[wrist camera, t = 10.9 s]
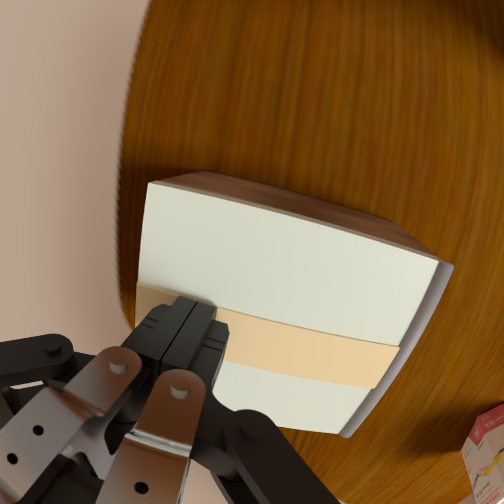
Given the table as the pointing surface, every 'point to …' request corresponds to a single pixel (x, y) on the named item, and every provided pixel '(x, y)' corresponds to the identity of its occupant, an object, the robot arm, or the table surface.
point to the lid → (289, 302)
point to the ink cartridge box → (486, 456)
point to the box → (297, 205)
